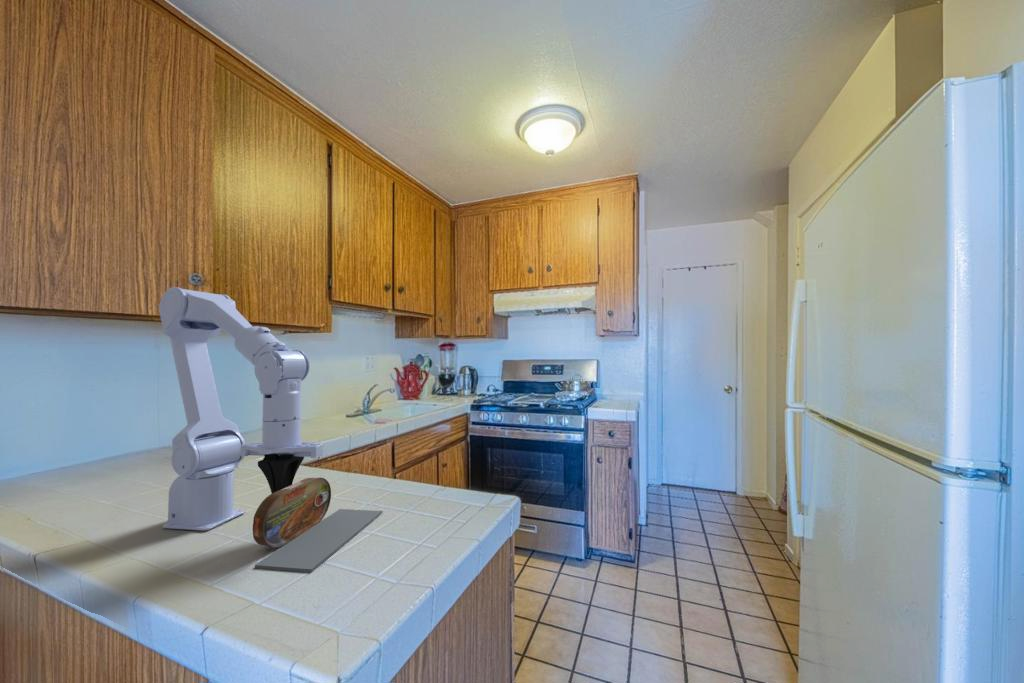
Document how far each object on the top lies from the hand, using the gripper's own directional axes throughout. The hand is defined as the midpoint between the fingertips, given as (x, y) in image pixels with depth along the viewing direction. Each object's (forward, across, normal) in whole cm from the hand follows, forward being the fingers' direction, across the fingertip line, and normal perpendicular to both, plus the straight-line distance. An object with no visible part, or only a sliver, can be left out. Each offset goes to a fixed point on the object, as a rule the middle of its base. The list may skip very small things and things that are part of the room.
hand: (281, 498), depth 64 cm
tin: (+6, +2, 0) cm, 7 cm away
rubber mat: (+6, +9, 0) cm, 11 cm away
